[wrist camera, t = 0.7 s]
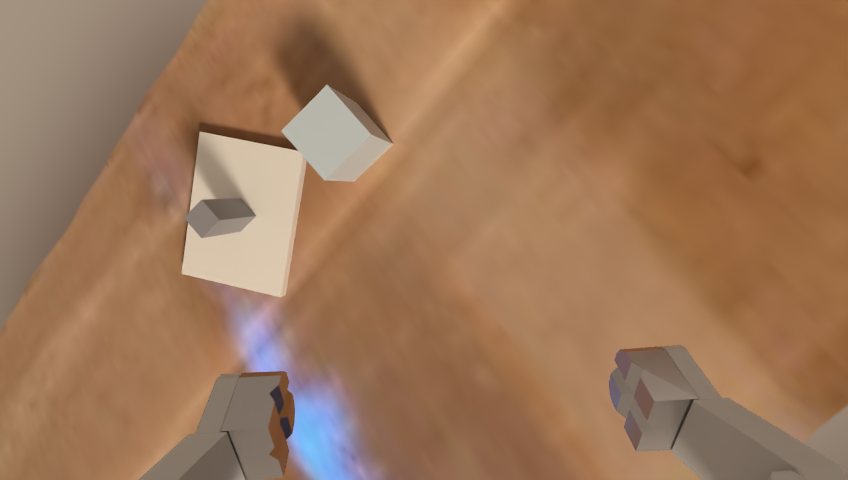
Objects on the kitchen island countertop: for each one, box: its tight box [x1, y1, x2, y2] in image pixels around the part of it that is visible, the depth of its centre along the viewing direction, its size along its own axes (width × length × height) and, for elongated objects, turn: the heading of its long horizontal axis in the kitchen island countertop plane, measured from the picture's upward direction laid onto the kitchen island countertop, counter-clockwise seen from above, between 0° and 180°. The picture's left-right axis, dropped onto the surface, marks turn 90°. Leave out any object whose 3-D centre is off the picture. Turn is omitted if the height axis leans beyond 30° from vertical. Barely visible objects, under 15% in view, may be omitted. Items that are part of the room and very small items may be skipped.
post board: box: [182, 132, 307, 297], centre depth 49 cm, size 16×12×8 cm
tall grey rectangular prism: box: [281, 85, 393, 182], centre depth 46 cm, size 6×6×9 cm
